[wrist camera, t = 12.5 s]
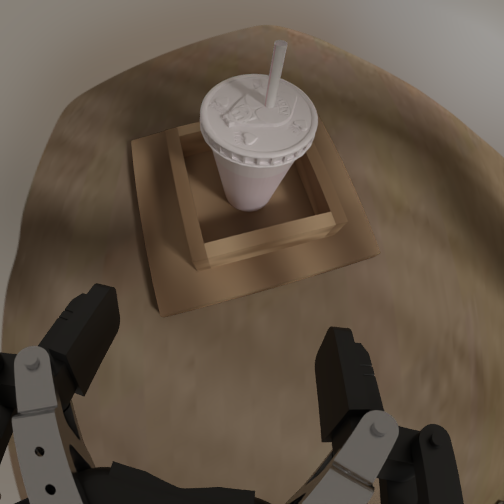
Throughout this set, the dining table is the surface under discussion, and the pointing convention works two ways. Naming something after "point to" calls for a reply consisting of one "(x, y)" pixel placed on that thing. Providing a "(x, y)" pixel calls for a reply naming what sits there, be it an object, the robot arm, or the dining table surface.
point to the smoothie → (257, 131)
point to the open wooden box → (241, 222)
